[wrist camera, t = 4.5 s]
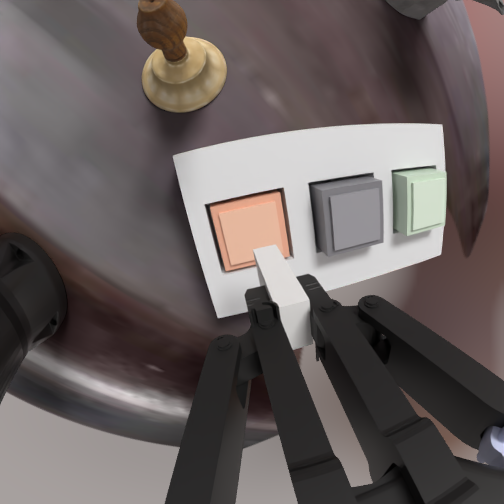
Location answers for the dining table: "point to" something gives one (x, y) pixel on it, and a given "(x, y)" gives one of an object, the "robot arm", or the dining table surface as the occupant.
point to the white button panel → (307, 198)
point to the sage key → (418, 200)
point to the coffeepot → (433, 6)
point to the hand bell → (177, 60)
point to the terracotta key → (249, 227)
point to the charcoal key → (347, 214)
